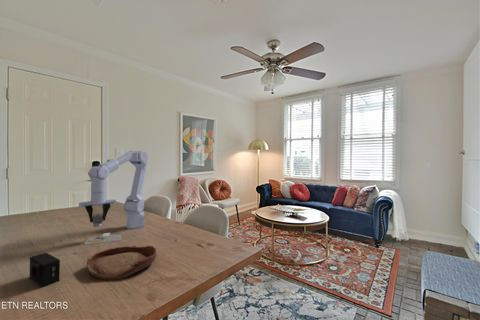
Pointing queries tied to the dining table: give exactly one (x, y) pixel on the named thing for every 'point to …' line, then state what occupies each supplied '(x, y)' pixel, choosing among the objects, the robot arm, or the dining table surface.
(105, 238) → the flange plate
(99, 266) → the basket
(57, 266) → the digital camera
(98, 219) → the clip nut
